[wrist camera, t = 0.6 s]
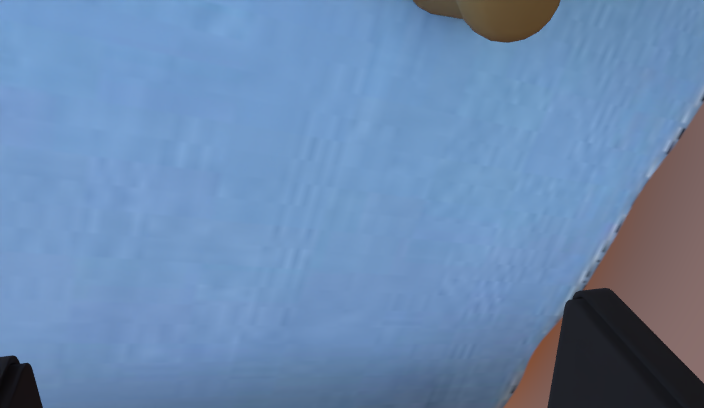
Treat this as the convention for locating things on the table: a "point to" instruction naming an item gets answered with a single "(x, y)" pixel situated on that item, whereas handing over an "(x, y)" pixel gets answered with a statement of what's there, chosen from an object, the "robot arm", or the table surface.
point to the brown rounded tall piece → (496, 16)
